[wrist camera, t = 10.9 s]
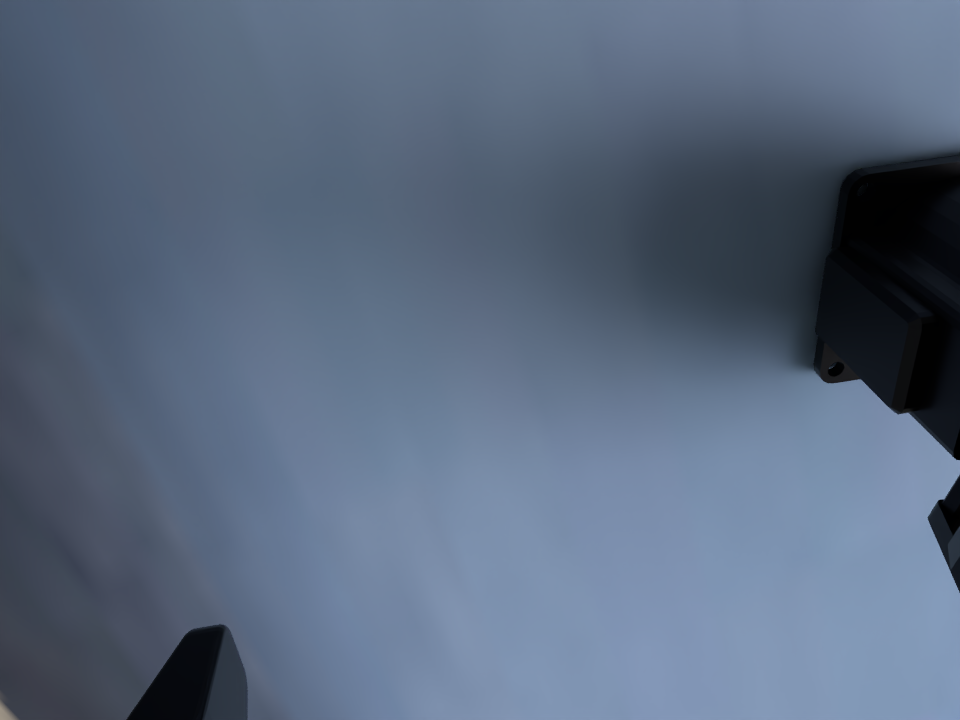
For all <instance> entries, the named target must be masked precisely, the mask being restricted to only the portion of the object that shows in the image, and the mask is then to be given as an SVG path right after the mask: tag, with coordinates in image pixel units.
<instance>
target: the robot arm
mask: <svg viewBox="0 0 960 720" xmlns="http://www.w3.org/2000/svg"><path fill="white" fill-rule="evenodd" d="M866 183H867V184H868V186H867V189H866V191H865V192H864V193H863V194H862V195H859V196H857V192H858V190H859V188H860V187H861V186H862V185H864V184H866ZM815 332H816V334H817V335H818V339H817V345H816V352H815V358H814V371H815V372H816V373H817V375H818V376H819V377H820V378H821V379H822V380H823V381H824V382H827V383H838V382H845V381H851V380H857V379H861V380H862V381H863V382H864V383H865V384H866V385H867V386H868V387H869V388H870V389H871V390H872V391H873V392H874V393H875V394H876V395H877V396H878V397H879V398H880V399H881V400H882V401H883V402H884V403H885V404H886V405H887V406H888V407H889V408H890V409H891V410H893V411H894V412H895V413H897V414H903V413H909V414H910V415H912V416H913V417H914V418H915V419H916V420H917V421H918V422H919V423H920V424H921V425H922V426H923V427H924V428H925V429H926V430H927V431H928V432H929V433H930V434H931V435H932V436H933V437H934V438H935V439H936V440H937V441H938V442H939V443H940V444H941V445H942V446H943V447H944V448H945V449H946V450H947V451H948V452H949V453H950V454H951V455H952V456H953V457H954V458H955V459H956V460H960V155H957V156H950V157H943V158H936V159H929V160H921V161H914V162H907V163H900V164H893V165H885V166H878V167H871V168H864V169H859V170H856V171H854V172H852V173H851V174H850V175H848V176H847V177H846V179H845V180H844V181H843V183H842V186H841V189H840V195H839V201H838V208H837V214H836V221H835V227H834V234H833V241H832V247H831V250H830V252H829V254H828V255H827V257H826V261H825V268H824V275H823V281H822V288H821V295H820V301H819V308H818V315H817V321H816V328H815ZM836 362H837V364H836V365H835V366H834V367H833V368H831V369H829V367H830V366H831V365H832V364H833V363H836ZM928 521H929V523H930V525H931V528H932V530H933V532H934V534H935V537H936V539H937V541H938V544H939V546H940V548H941V551H942V553H943V555H944V557H945V560H946V562H947V564H948V567H949V569H950V571H951V574H952V576H953V578H954V580H955V583H956V585H957V587H958V590H959V592H960V475H959V477H958V478H957V480H956V481H955V483H954V485H953V486H952V488H951V489H950V491H949V493H948V494H947V496H946V497H945V499H944V500H939V501H938V502H937V503H936V505H935V507H934V508H933V510H932V511H931V513H930V515H929V516H928ZM247 706H248V690H247V679H246V673H245V669H244V666H243V664H242V661H241V658H240V656H239V653H238V650H237V647H236V645H235V642H234V639H233V637H232V634H231V632H230V630H229V628H228V627H227V626H226V625H221V624H219V625H213V626H207V627H202V628H196V629H193V630H191V631H189V632H188V633H187V634H186V635H185V636H184V637H183V639H182V640H181V642H180V643H179V645H178V646H177V647H176V649H175V650H174V652H173V653H172V655H171V656H170V658H169V659H168V660H167V662H166V663H165V665H164V666H163V668H162V669H161V671H160V672H159V673H158V675H157V676H156V678H155V679H154V681H153V682H152V683H151V685H150V686H149V688H148V689H147V691H146V692H145V694H144V695H143V696H142V698H141V699H140V701H139V702H138V704H137V705H136V707H135V708H134V709H133V711H132V712H131V714H130V715H129V717H128V718H127V720H247Z"/></svg>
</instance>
